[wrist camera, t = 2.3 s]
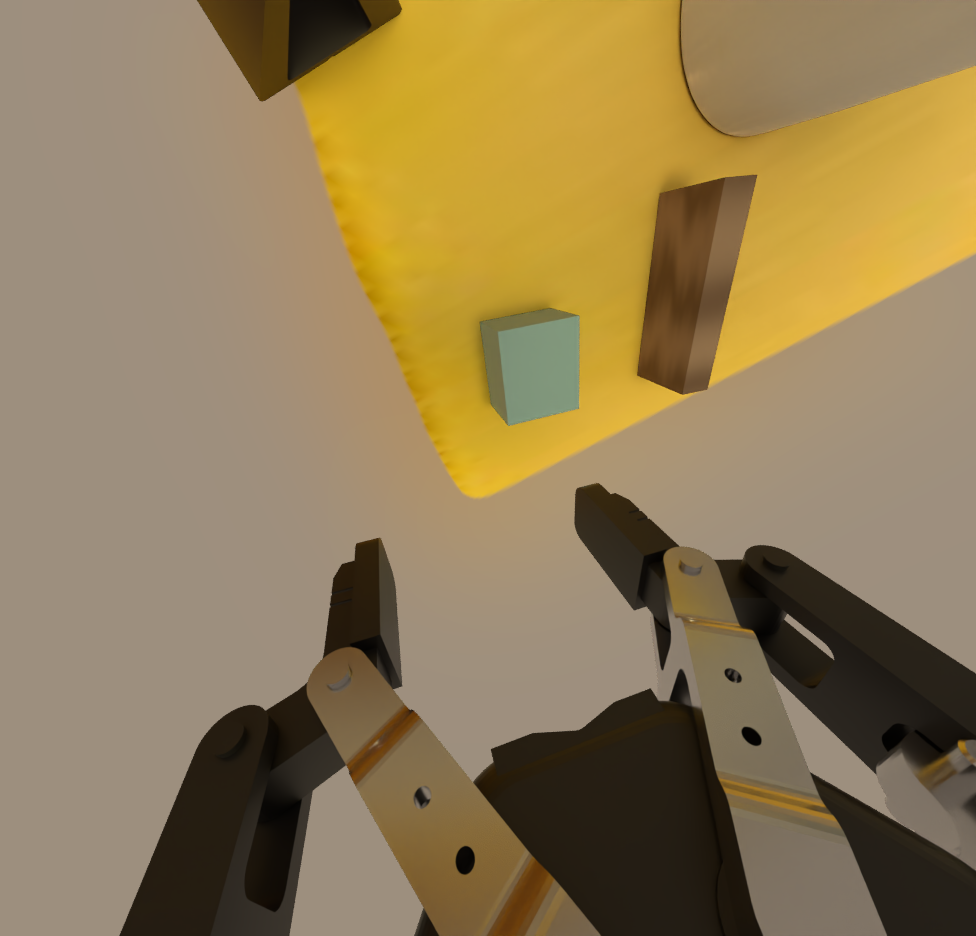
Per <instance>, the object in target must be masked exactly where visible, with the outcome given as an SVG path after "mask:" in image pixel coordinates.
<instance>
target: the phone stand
mask: <svg viewBox="0 0 976 936" xmlns="http://www.w3.org/2000/svg"><path fill="white" fill-rule="evenodd" d="M197 1H198V2H199V4H200V6H201V7H202V9H203V11H204V12H205V14H206V15H207V17H208V19H209V20H210V22H211V23H212V25H213V27H214V28H215V30H216V31H217V33H218V35H219V36H220V38H221V39H222V41H223V43H224V44H225V46H226V47H227V49H228V51H229V52H230V54H231V55H232V57H233V58H234V60H235V62H236V63H237V65H238V67H239V68H240V70H241V71H242V73H243V75H244V76H245V78H246V79H247V81H248V83H249V84H250V86H251V88H252V89H253V91H254V92H255V94H256V96H257V97H258V99H259V100H260V101H265V100H267V99H269V98H270V97H271V96H273V95H275V94H276V93H278V92H279V91H281V90H283V89H284V88H286V87H287V86H288V85H290V84H292V83H293V82H295V81H296V80H298V79H299V78H301V77H303V76H304V75H306V74H307V73H309V72H310V71H312V70H313V69H315V68H317V67H318V66H320V65H321V64H323V63H324V62H326V61H327V60H328V59H329V58H330V57H331V56H335V55H337V54H338V53H340V52H341V51H343V50H345V49H346V48H348V47H349V46H351V45H352V44H354V43H355V42H357V41H359V40H360V39H362V38H363V37H365V36H366V35H368V34H369V33H371V32H373V31H374V30H376V29H377V28H379V27H380V26H382V25H383V24H385V23H387V22H388V21H390V20H391V19H393V18H394V17H396V16H397V15H398V14H399V13H400V12H401V10H402V8H401V5H400V3H399V1H398V0H197Z"/></svg>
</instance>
